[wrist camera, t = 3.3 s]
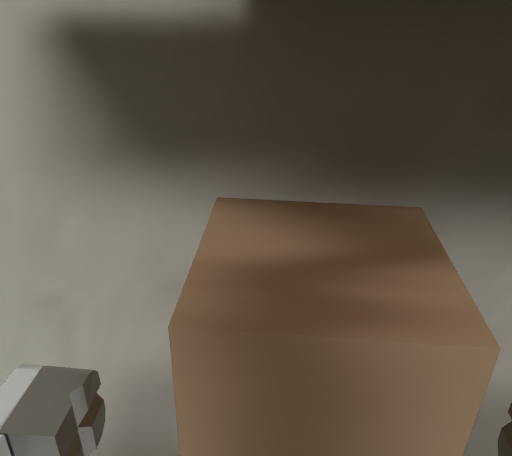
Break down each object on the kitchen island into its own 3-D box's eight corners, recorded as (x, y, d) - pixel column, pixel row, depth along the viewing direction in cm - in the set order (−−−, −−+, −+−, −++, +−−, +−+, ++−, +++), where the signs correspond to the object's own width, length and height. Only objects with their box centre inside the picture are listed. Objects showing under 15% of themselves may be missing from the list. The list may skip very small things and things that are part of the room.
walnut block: (420, 206, 11) (500, 348, 7) (388, 359, 14) (432, 539, 9) (217, 196, 11) (168, 326, 7) (221, 347, 14) (185, 516, 9)
